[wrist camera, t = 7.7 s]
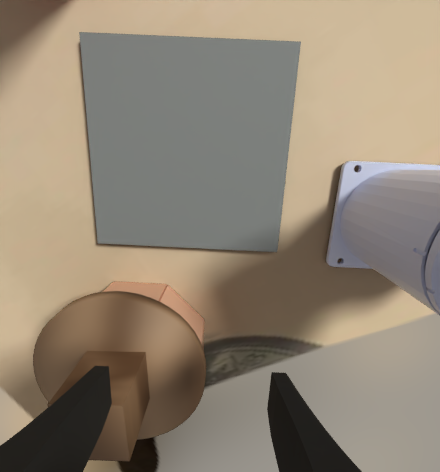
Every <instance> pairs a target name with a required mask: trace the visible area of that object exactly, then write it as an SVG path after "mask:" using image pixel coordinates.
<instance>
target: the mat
mask: <svg viewBox="0 0 440 472" xmlns="http://www.w3.org/2000/svg"><path fill="white" fill-rule="evenodd" d="M79 34H80V46H81V57H82V68H83V80H84V91H85V103H86V114H87V126H88V137H89V149H90V160H91V171H92V183H93V194H94V206H95V217H96V229H97V240H98V243H102V244H122V245H142V246H163V247H183V248H203V249H223V250H244V251H264V252H277V250H278V241H279V232H280V223H281V214H282V205H283V196H284V187H285V178H286V169H287V160H288V151H289V142H290V133H291V125H292V116H293V107H294V98H295V89H296V80H297V71H298V62H299V53H300V44H301V42H294V41H271V40H248V39H225V38H202V37H179V36H156V35H133V34H110V33H87V32H79Z"/></svg>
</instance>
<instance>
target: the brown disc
mask: <svg viewBox="0 0 440 472" xmlns="http://www.w3.org/2000/svg"><path fill="white" fill-rule="evenodd" d="M33 366H34V373H35V376H36V380H37V383H38V385H39V387H40V389H41V391H42V393H43V395H44V396H45V398H46V399H47V401H48V402H49V403H48V407H50V406H51V405H52V404H53V403H54V402H55V401H56V400H57V399H59V398H60V397H61V396H62V395H63V394H64V393H65V392H67V391H68V390H69V389H70V388H71V387H72V386H73V385H74V384H75V383H76V382H77V381H79V380H80V379H81V378H82V377H83V376H84V375H85V374H86V373H87V372H88V371H90V370H91V369H92V368H93V367H94V366H109V374H110V386H111V398H112V404H111V407H110V410H109V413H108V416H107V419H106V422H105V424H104V427H103V430H102V432H101V434H100V436H99V439H98V441H97V443H96V445H95V447H94V449H93V451H92V454H91V456H90V458H89V460H106V461H107V460H108V461H130V459H131V456H132V453H133V449H134V446H135V443H136V440H138V439H146V438H151V437H155V436H159V435H161V434H164V433H167V432H169V431H171V430H173V429H174V428H176V427H178V426H179V425H180V424H182V423H183V422H184V421H185V420H187V419H188V418H189V417H190V415H191V414H192V413H193V412H194V411H195V409H196V407H197V406H198V404H199V402H200V399H201V397H202V395H203V391H204V386H205V376H206V359H205V354H204V350H203V347H202V344H201V342H200V340H199V338H198V336H197V334H196V333H195V331H194V330H193V328H192V327H191V326H190V325H189V323H188V322H187V321H186V320H185V319H184V318H183V317H182V316H181V315H179V314H178V313H177V312H176V311H174V310H173V309H172V308H170V307H168V306H167V305H165V304H163V303H162V302H159V301H157V300H155V299H153V298H150V297H147V296H144V295H141V294H136V293H131V292H123V291H106V292H99V293H94V294H91V295H87V296H84V297H82V298H80V299H77V300H75V301H73V302H72V303H70V304H69V305H67V306H66V307H65V308H63V309H62V310H61V311H60V312H59V313H58V314H57V315H56V316H54V317H53V318H52V319H51V320H50V321H49V322H48V323H47V324H46V326H45V327H44V328H43V330H42V331H41V333H40V335H39V337H38V339H37V342H36V345H35V349H34V355H33Z"/></svg>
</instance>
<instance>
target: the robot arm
mask: <svg viewBox="0 0 440 472" xmlns="http://www.w3.org/2000/svg"><path fill="white" fill-rule="evenodd" d="M356 165H358V167H359V169H358V171H357V172H355V171H354V167H355V166H356ZM339 258H342V261H341V262H339V263H337V261H338V259H339ZM326 262H327V264H328V265H330V266H332V267H348V268H368V269H374V270H376V271H377V272H379V273H380V274H381V275H383V276H384V277H386V278H387V279H389V280H390V281H391V282H393V283H394V284H396V285H397V286H399V287H400V288H401V289H403V290H404V291H406V292H407V293H409V294H410V295H411V296H413V297H414V298H416V299H417V300H419V301H420V302H421V303H423V304H424V305H426V306H427V307H429V308H430V309H431V310H433V311H434V312H436V313H437V314H439V315H440V165H426V164H405V163H384V162H362V161H347V162H345V163H344V164H343V165H342V168H341V173H340V179H339V185H338V191H337V197H336V203H335V209H334V215H333V221H332V227H331V233H330V239H329V245H328V251H327V257H326ZM111 404H112V398H111V386H110V374H109V366H94V367H93V368H92V369H91V370H90V371H88V372H87V373H86V374H85V375H84V376H83V377H82V378H81V379H80V380H79V381H77V382H76V383H75V384H74V385H73V386H72V387H71V388H70V389H69V390H68V391H67V392H65V393H64V394H63V395H62V396H61V397H60V398H59V399H57V400H56V401H55V402H54V403H53V404H52V405H51V406H50V407H48V408H47V409H46V410H45V411H44V412H43V413H41V414H40V415H39V416H38V417H36V418H35V419H34V420H33V421H32V422H31V423H29V424H28V425H27V426H26V427H24V428H23V429H22V430H21V431H20V432H18V433H17V434H15V435H14V436H13V437H12V438H10V439H9V440H8V441H7V442H5V443H4V444H2V445H1V446H0V472H83V470H84V468H85V466H86V464H87V462H88V460H89V458H90V456H91V454H92V451H93V449H94V447H95V445H96V443H97V441H98V439H99V436H100V434H101V432H102V430H103V427H104V424H105V422H106V419H107V416H108V413H109V410H110V407H111ZM267 410H268V417H269V425H270V432H271V438H272V442H273V447H274V451H275V455H276V459H277V464H278V468H279V472H361V470H360V469H359V468H358V467H357V466H356V465H355V464H354V463H353V462H352V461H351V459H350V458H349V457H348V456H347V455H346V454H345V453H344V451H343V450H342V449H341V448H340V447H339V446H338V444H337V443H336V442H335V441H334V440H333V438H332V437H331V436H330V435H329V433H328V432H327V431H326V430H325V428H324V427H323V426H322V424H321V423H320V422H319V420H318V419H317V418H316V416H315V415H314V414H313V412H312V411H311V409H310V408H309V407H308V406H307V404H306V402H305V401H304V400H303V398H302V397H301V395H300V394H299V392H298V391H297V389H296V388H295V386H294V385H293V383H292V381H291V380H290V378H289V377H288V376H287V374H286V373H273V372H272V375H271V383H270V391H269V400H268V409H267Z"/></svg>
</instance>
